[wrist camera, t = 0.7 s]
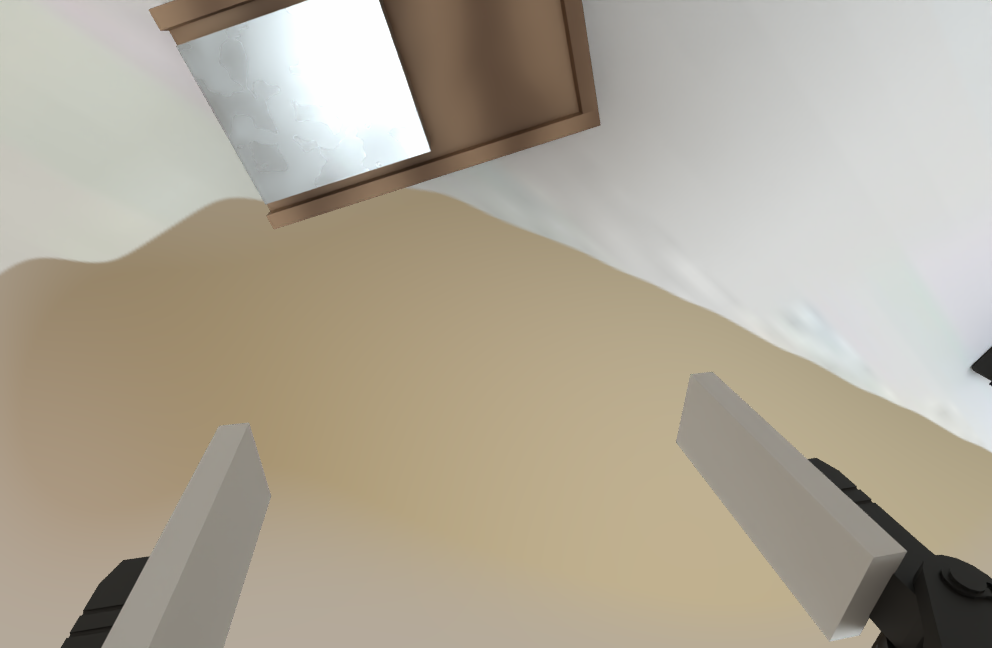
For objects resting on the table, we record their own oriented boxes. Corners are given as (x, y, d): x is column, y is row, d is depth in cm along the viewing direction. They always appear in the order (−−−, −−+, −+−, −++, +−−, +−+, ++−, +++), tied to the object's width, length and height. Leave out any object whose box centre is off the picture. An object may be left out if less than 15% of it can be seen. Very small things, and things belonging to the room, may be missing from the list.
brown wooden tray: (553, -125, 26) (561, -136, 24) (591, 120, 33) (600, 125, 31) (166, 10, 27) (148, 9, 26) (281, 219, 34) (273, 229, 32)
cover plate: (376, -18, 27) (370, -22, 25) (430, 142, 32) (430, 151, 29) (196, 44, 27) (176, 46, 25) (276, 192, 32) (265, 204, 30)
